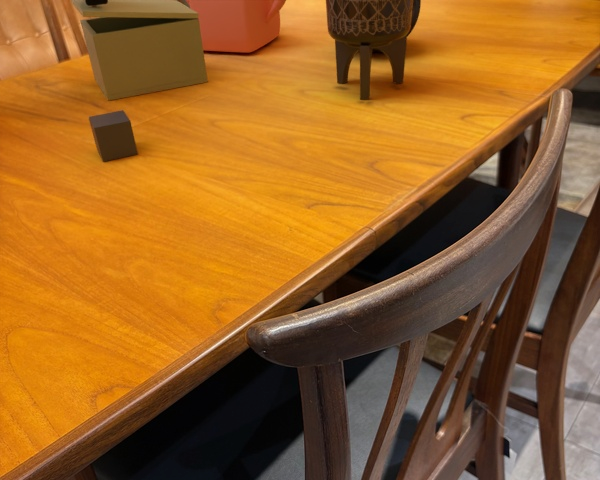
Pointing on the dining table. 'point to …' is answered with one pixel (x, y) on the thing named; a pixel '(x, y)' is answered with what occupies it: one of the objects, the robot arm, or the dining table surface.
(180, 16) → the lid
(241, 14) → the teapot
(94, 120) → the block
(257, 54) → the dining table surface
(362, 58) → the planter
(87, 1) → the robot arm
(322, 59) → the dining table surface
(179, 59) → the chest
